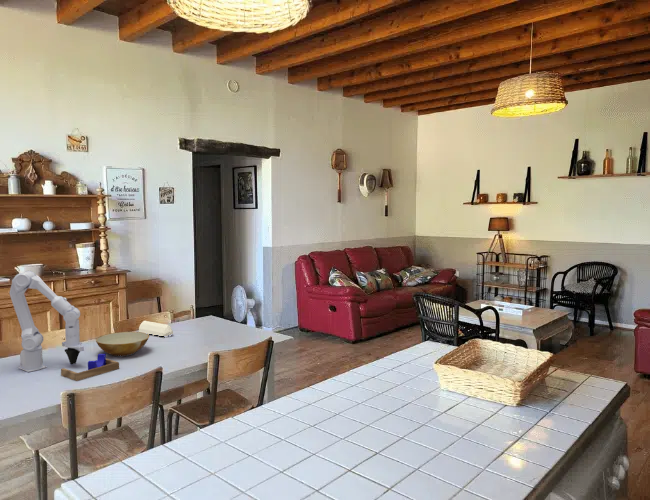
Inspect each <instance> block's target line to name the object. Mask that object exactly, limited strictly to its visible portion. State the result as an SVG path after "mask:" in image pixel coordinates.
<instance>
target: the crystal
mask: <svg viewBox="0 0 650 500" xmlns="http://www.w3.org/2000/svg"><path fill="white" fill-rule="evenodd" d="M138 332H143V333H147V334H148V335H149V334H153V335H152V336H154V335H159V336H168V335H171V334H173V335H174V330H173V329H172V327H171V326H170V325H169V324H166V323H160V322H155V321H148V320H143V321H142V322H141V323H140V325H139V327H138ZM159 336H158V337H159Z"/></svg>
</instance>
